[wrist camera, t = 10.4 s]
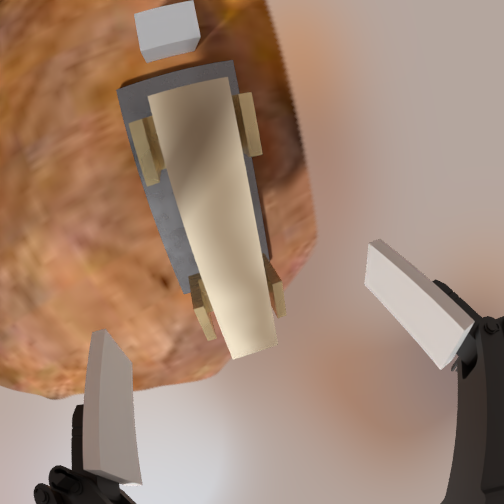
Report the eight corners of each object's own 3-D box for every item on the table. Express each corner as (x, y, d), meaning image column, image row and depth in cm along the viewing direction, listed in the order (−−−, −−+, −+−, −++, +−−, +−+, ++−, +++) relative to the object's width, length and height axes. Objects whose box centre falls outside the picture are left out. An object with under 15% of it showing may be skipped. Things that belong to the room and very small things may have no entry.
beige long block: (220, 316, 26) (233, 359, 22) (154, 100, 15) (147, 96, 11) (258, 303, 27) (277, 344, 22) (211, 85, 16) (227, 76, 11)
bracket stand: (183, 289, 35) (196, 371, 24) (118, 90, 21) (75, 77, 10) (268, 263, 37) (311, 333, 26) (230, 61, 23) (278, 29, 12)
